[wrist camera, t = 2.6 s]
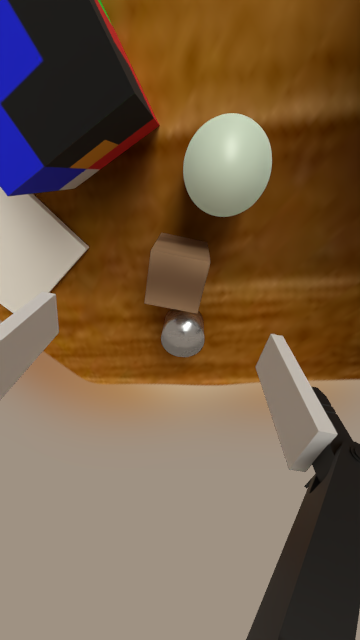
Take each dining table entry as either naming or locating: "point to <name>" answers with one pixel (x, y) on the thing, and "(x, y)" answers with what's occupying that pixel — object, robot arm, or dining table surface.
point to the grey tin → (183, 333)
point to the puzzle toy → (64, 95)
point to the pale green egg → (227, 165)
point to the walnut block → (177, 273)
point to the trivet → (32, 249)
